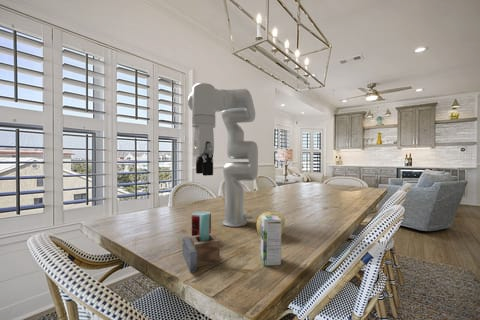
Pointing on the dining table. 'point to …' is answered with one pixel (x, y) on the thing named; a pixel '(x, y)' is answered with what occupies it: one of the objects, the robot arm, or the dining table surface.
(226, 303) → the dining table surface
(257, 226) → the sculpture
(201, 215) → the dowel
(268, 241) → the syrup box
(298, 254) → the dining table surface
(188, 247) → the wall
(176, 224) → the dining table surface
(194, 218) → the canned food
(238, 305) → the dining table surface
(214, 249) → the brown wooden open box
